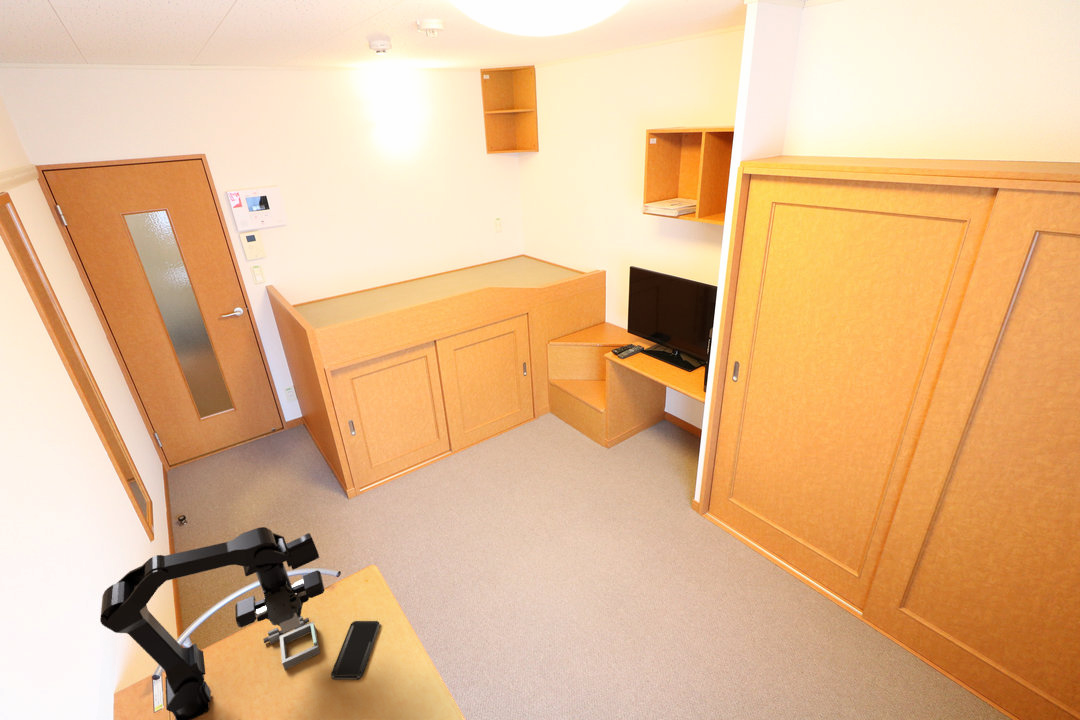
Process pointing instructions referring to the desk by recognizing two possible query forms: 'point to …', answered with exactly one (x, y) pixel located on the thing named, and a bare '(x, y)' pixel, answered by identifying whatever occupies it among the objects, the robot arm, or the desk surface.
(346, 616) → the desk surface
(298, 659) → the frame
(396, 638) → the desk surface
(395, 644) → the desk surface
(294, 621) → the block
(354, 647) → the phone
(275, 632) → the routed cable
